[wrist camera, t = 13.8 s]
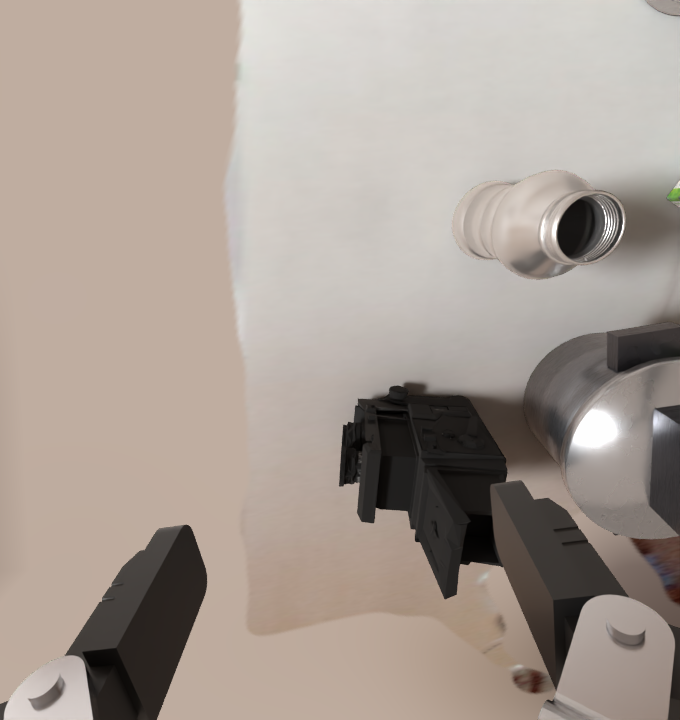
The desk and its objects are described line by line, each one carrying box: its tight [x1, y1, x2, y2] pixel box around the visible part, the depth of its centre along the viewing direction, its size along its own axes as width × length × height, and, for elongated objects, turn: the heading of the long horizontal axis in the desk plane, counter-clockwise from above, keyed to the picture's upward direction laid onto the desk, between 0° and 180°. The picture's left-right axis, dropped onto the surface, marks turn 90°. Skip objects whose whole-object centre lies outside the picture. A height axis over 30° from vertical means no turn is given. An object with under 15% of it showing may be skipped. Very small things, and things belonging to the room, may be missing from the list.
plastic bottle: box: [452, 170, 626, 280], centre depth 32 cm, size 6×7×20 cm
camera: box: [339, 386, 507, 599], centre depth 39 cm, size 10×14×20 cm
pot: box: [524, 322, 680, 535], centre depth 41 cm, size 19×15×11 cm
